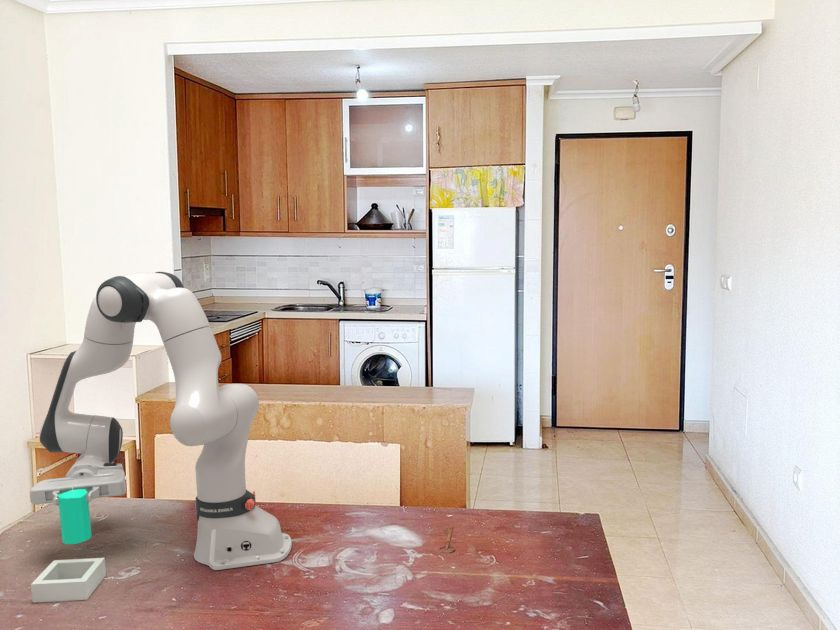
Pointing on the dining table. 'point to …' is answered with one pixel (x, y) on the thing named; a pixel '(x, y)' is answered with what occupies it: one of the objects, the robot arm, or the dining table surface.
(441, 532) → the key
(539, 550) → the dining table surface
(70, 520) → the candle
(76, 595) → the frame
